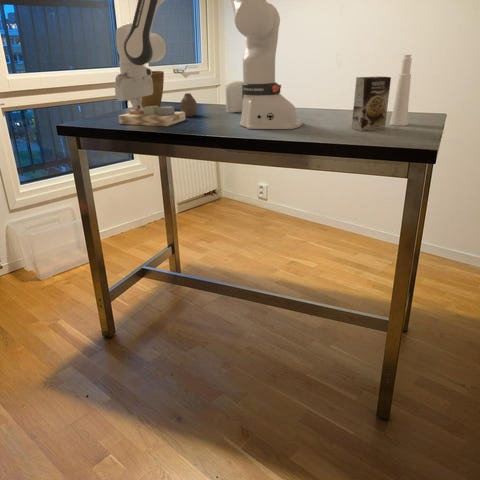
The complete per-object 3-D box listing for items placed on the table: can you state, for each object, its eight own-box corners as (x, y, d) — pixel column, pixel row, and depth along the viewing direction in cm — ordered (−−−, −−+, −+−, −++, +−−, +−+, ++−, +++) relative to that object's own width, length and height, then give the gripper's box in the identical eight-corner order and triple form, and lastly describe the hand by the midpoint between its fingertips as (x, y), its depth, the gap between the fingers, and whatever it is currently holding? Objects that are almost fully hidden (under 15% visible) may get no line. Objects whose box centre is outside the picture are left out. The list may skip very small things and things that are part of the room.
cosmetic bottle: (398, 126, 143) (407, 55, 133) (385, 123, 148) (393, 55, 138) (411, 124, 145) (421, 54, 136) (398, 122, 150) (407, 54, 141)
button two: (174, 114, 163) (173, 106, 161) (168, 116, 159) (168, 107, 158) (164, 114, 164) (163, 105, 163) (158, 116, 161) (157, 107, 159)
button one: (146, 117, 168) (145, 109, 167) (140, 119, 164) (139, 111, 163) (137, 117, 169) (136, 109, 168) (130, 119, 166) (129, 110, 164)
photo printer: (228, 113, 179) (226, 82, 173) (225, 112, 182) (223, 81, 177) (251, 111, 181) (250, 80, 176) (247, 110, 185) (247, 80, 180)
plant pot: (145, 106, 205) (141, 71, 198) (172, 107, 200) (169, 70, 193) (128, 111, 192) (123, 73, 185) (157, 112, 187) (153, 73, 181)
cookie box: (361, 131, 137) (366, 78, 130) (351, 128, 143) (355, 76, 136) (385, 129, 139) (391, 76, 133) (374, 125, 145) (380, 75, 138)
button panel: (185, 119, 167) (184, 111, 166) (167, 126, 156) (166, 117, 154) (140, 117, 175) (139, 110, 173) (119, 123, 163) (118, 115, 162)
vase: (195, 117, 172) (193, 94, 168) (178, 117, 173) (176, 94, 170) (199, 114, 178) (198, 92, 174) (184, 114, 180) (182, 92, 176)
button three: (160, 114, 165) (159, 105, 164) (154, 116, 161) (153, 107, 160) (150, 113, 167) (149, 105, 165) (144, 115, 163) (143, 107, 162)
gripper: (122, 74, 150) (128, 114, 156) (154, 70, 167) (157, 106, 173) (108, 74, 152) (113, 113, 158) (140, 70, 169) (144, 106, 175)
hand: (137, 109), depth 166 cm, fingers closed, pressing on button one
